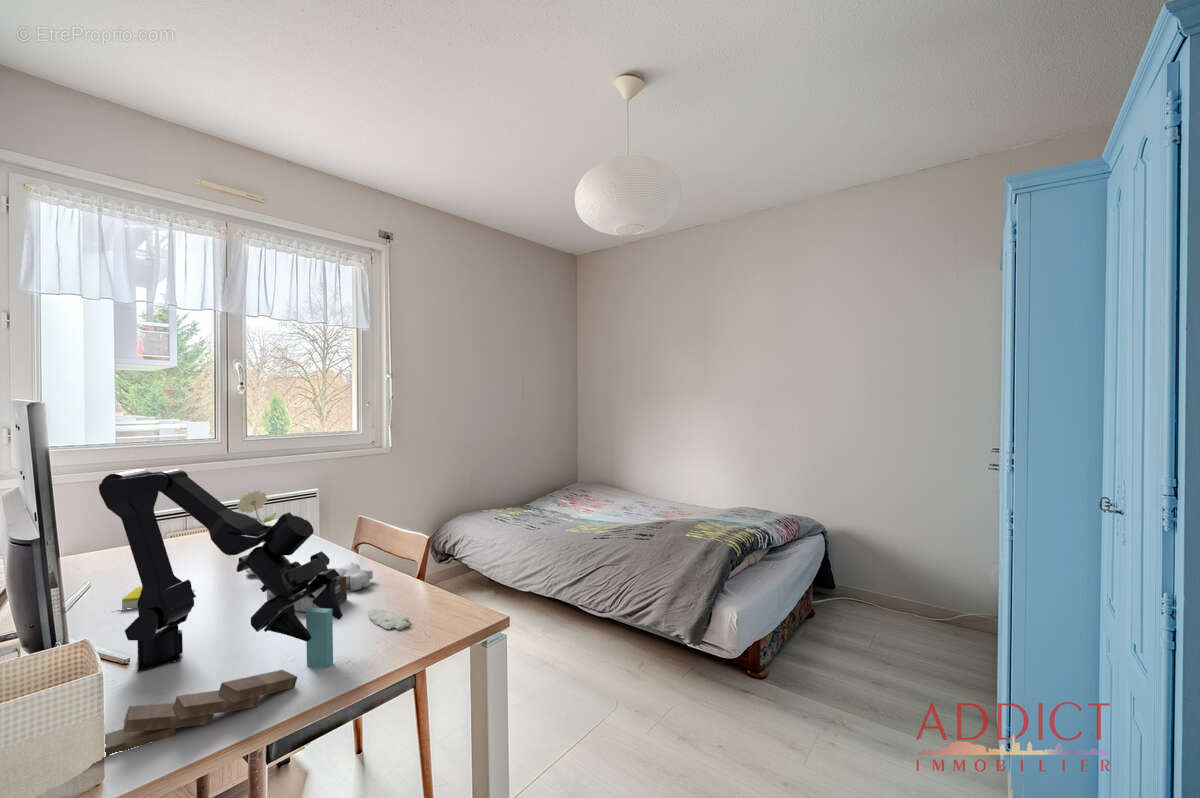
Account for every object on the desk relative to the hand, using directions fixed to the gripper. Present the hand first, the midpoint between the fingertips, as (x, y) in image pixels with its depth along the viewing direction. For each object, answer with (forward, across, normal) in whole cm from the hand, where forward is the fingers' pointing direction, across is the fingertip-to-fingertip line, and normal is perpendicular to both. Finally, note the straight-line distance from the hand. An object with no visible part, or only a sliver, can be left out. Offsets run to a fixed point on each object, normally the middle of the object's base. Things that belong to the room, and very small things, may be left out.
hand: (325, 628), depth 101 cm
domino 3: (+1, -12, +8) cm, 15 cm away
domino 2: (-1, -17, +11) cm, 20 cm away
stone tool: (+7, +20, +5) cm, 21 cm away
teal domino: (+4, 0, +6) cm, 7 cm away
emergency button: (-41, +23, +53) cm, 71 cm away
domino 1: (-3, -20, +13) cm, 25 cm away
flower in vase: (-32, +45, +43) cm, 70 cm away
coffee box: (-20, +26, +26) cm, 41 cm away
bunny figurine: (-10, +40, +21) cm, 46 cm away
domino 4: (+3, -7, +6) cm, 10 cm away
